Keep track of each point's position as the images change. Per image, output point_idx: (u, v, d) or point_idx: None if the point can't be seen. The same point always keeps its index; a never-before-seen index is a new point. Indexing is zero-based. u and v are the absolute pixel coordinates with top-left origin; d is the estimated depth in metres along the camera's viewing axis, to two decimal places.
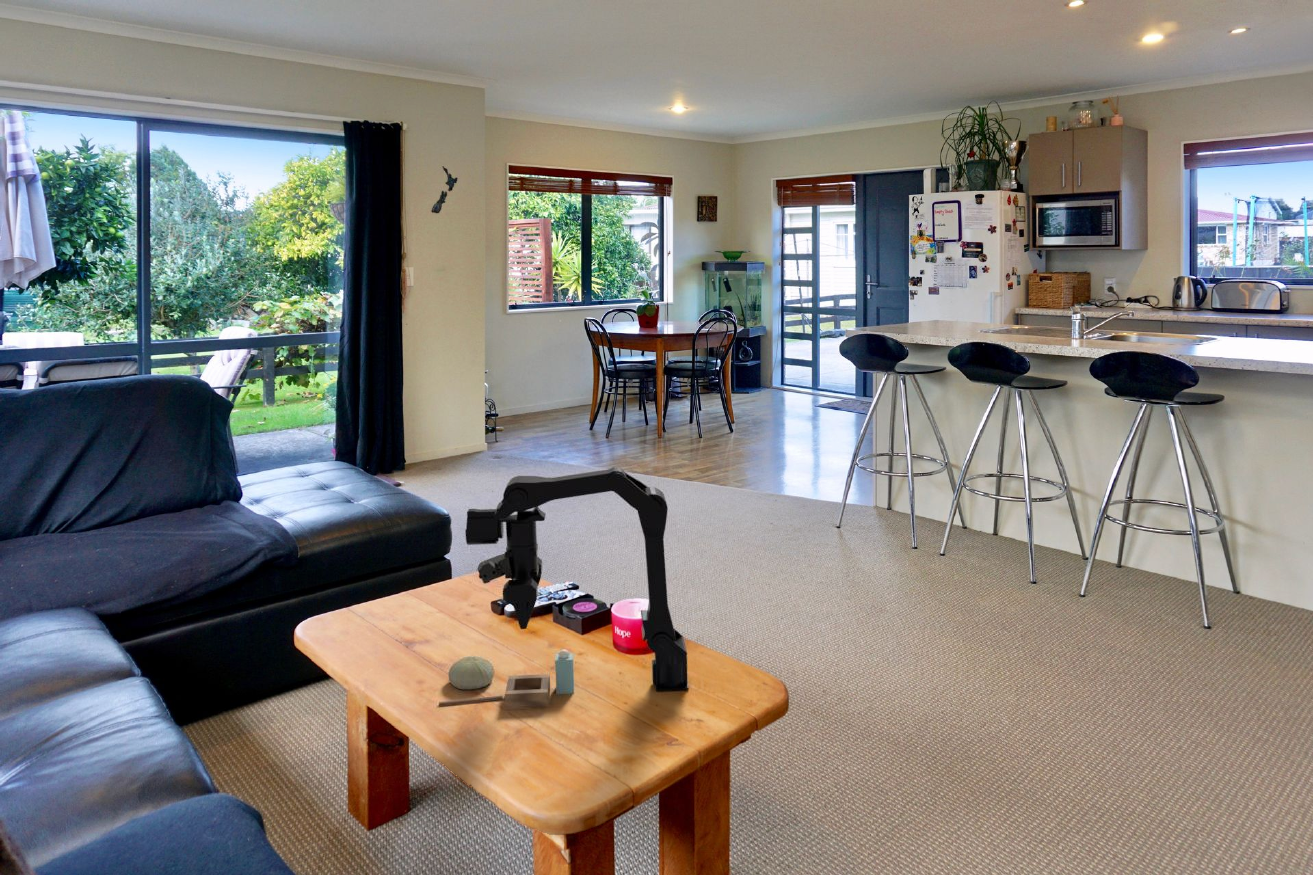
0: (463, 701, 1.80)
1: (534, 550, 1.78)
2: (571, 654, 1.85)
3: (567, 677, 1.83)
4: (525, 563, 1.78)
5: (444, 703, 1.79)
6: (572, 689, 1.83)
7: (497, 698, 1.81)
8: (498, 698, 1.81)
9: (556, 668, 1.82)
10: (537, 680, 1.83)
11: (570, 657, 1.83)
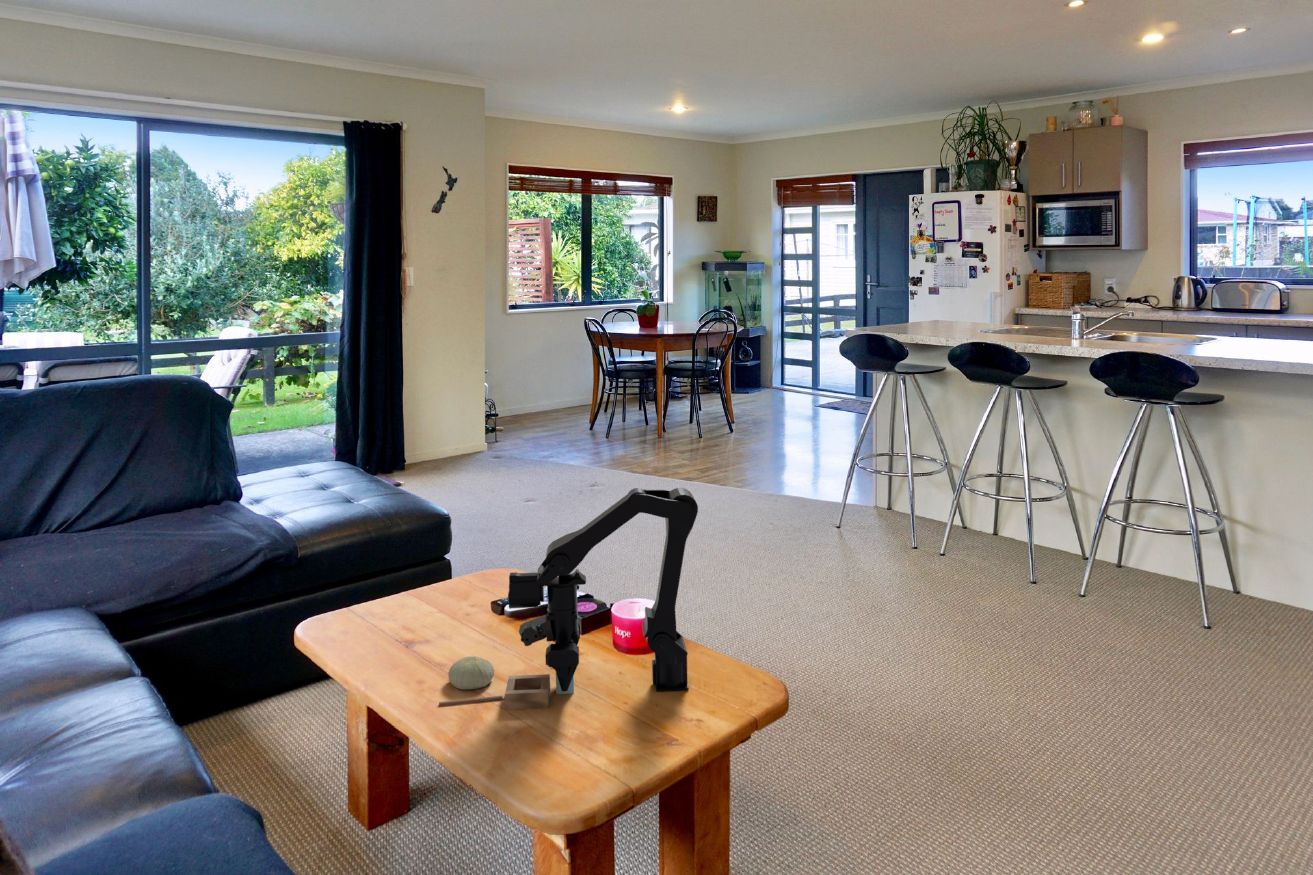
0: (463, 701, 1.80)
1: (575, 613, 1.80)
2: None
3: None
4: (566, 626, 1.80)
5: (444, 703, 1.79)
6: (572, 689, 1.83)
7: (497, 698, 1.81)
8: (498, 698, 1.81)
9: None
10: (537, 680, 1.83)
11: None
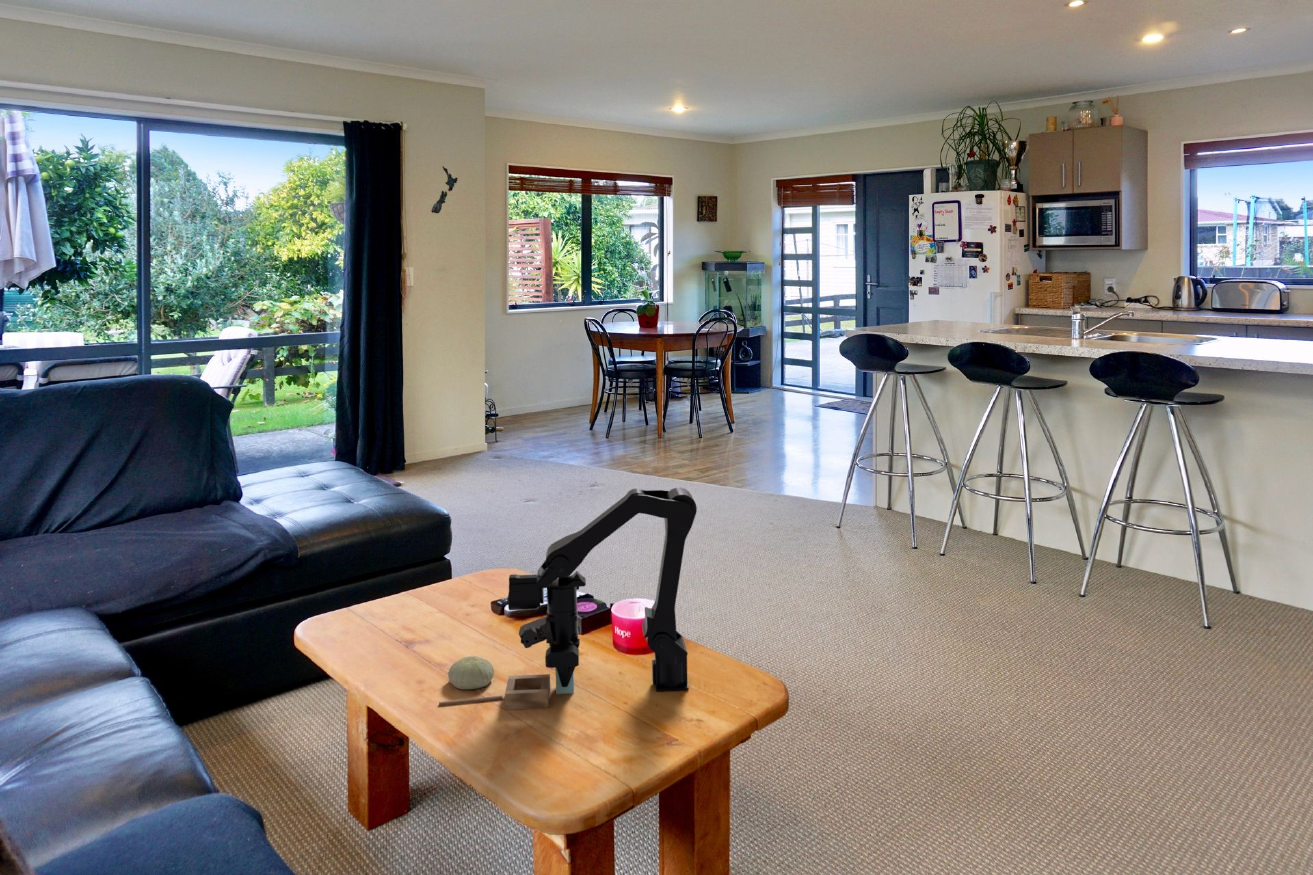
0: (463, 701, 1.80)
1: (575, 615, 1.80)
2: None
3: None
4: (566, 628, 1.80)
5: (444, 703, 1.79)
6: (572, 689, 1.83)
7: (497, 698, 1.81)
8: (498, 698, 1.81)
9: (556, 668, 1.82)
10: (537, 680, 1.83)
11: None
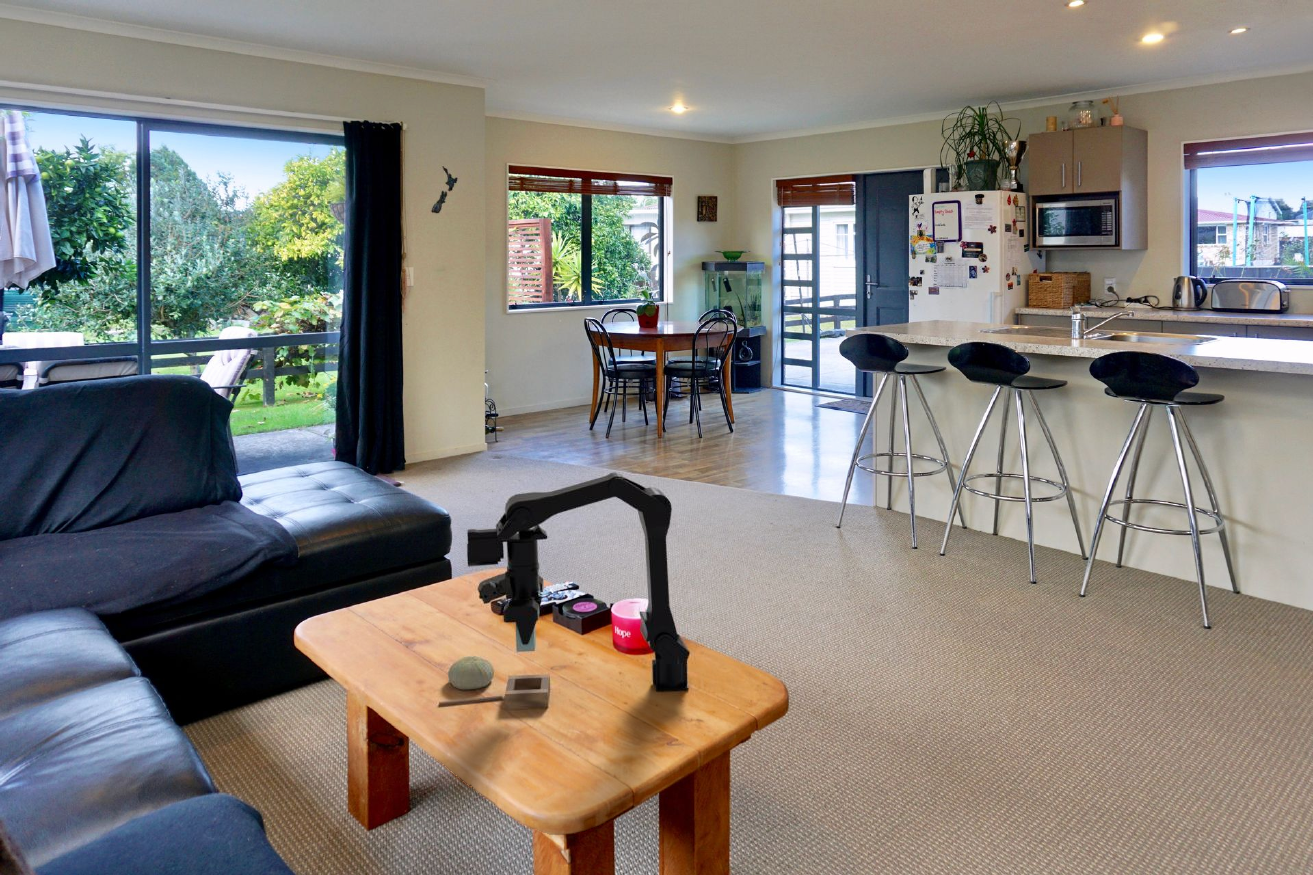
0: (463, 701, 1.80)
1: (535, 570, 1.75)
2: None
3: None
4: (526, 583, 1.74)
5: (444, 703, 1.79)
6: (532, 646, 1.78)
7: (497, 698, 1.81)
8: (498, 698, 1.81)
9: (516, 625, 1.77)
10: (537, 680, 1.83)
11: None
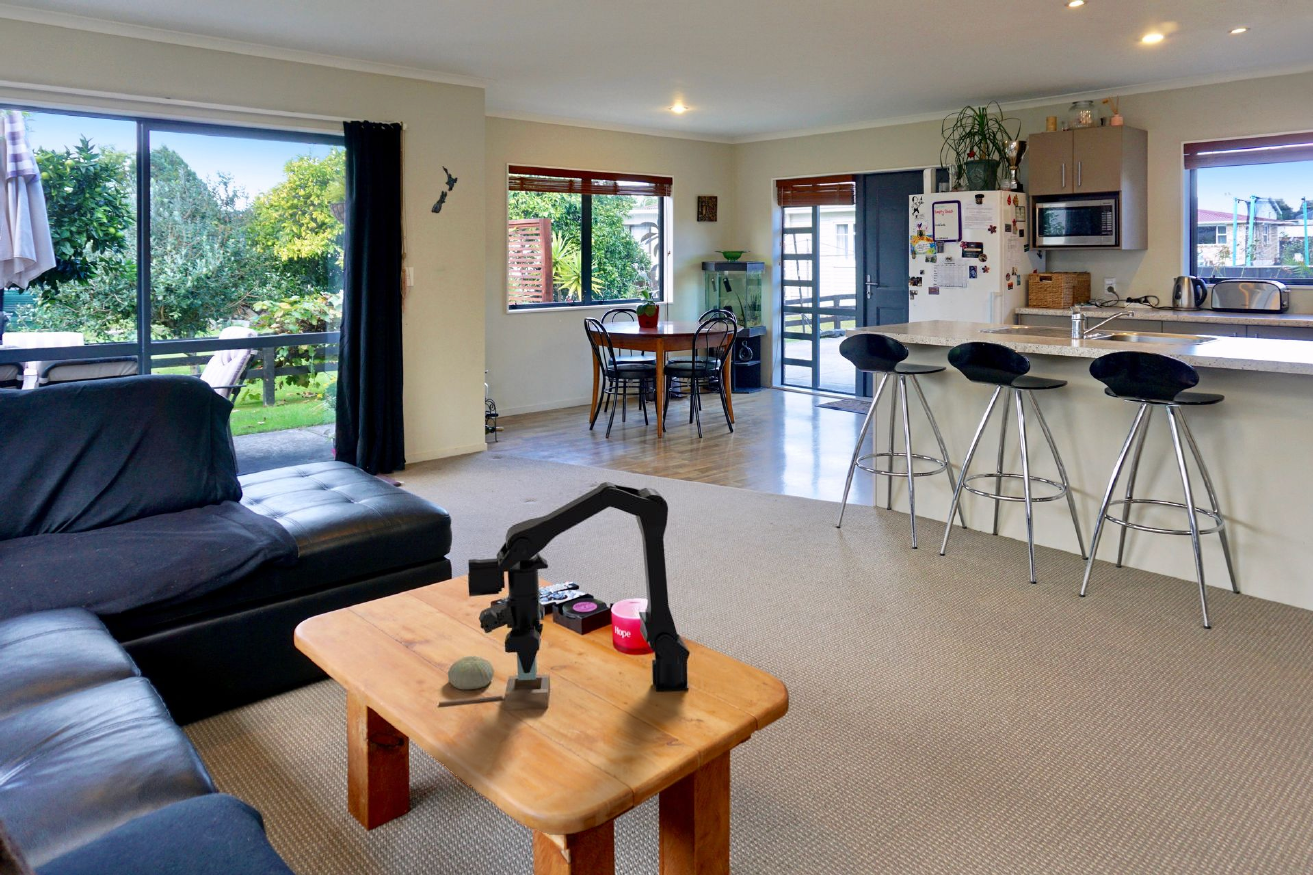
0: (463, 701, 1.80)
1: (536, 599, 1.76)
2: None
3: None
4: (527, 612, 1.75)
5: (444, 703, 1.79)
6: (534, 675, 1.79)
7: (497, 698, 1.81)
8: (498, 698, 1.81)
9: (517, 653, 1.78)
10: (537, 680, 1.83)
11: None
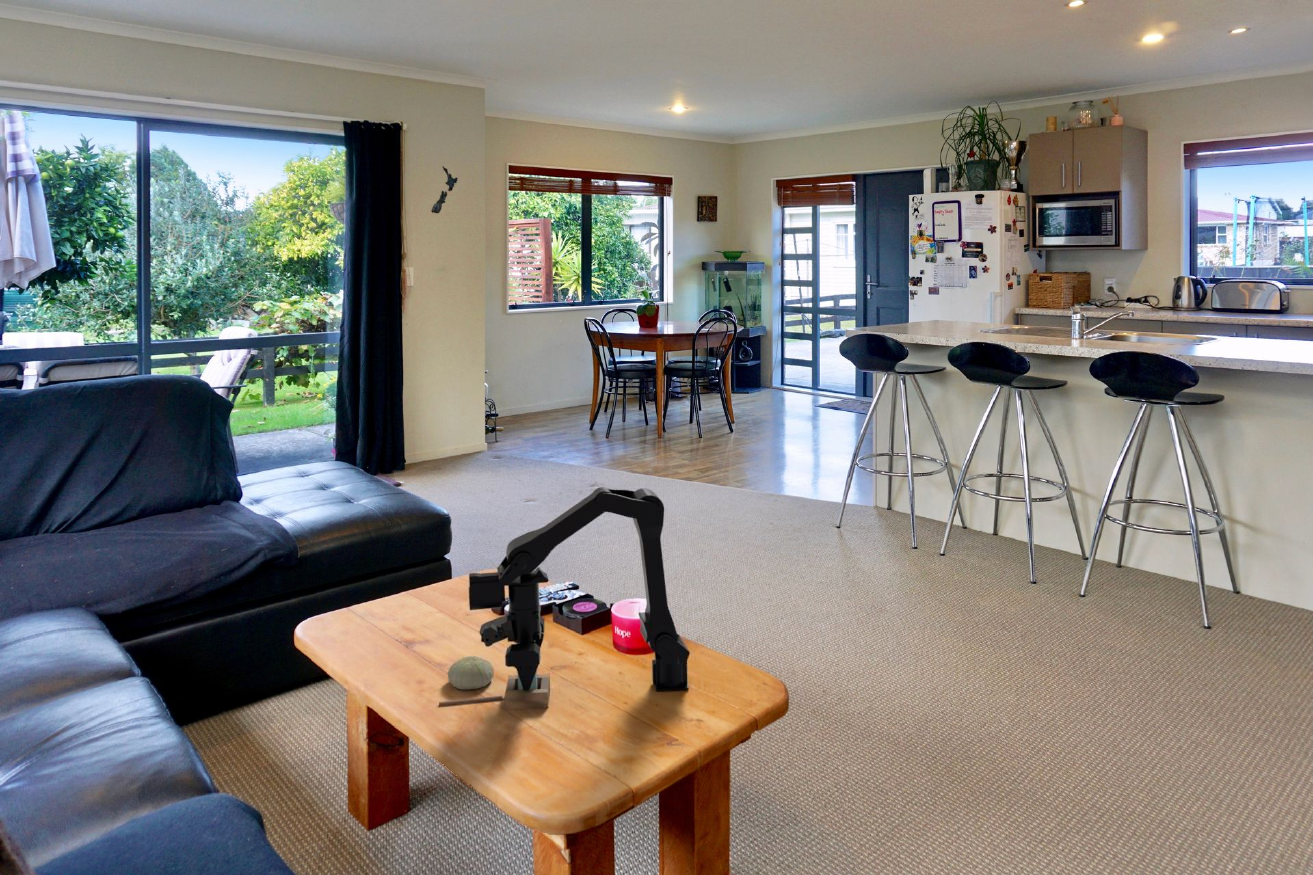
0: (463, 701, 1.80)
1: (537, 613, 1.76)
2: None
3: (530, 687, 1.79)
4: (527, 626, 1.76)
5: (444, 703, 1.79)
6: None
7: (497, 698, 1.81)
8: (498, 698, 1.81)
9: (518, 677, 1.79)
10: (537, 680, 1.83)
11: None
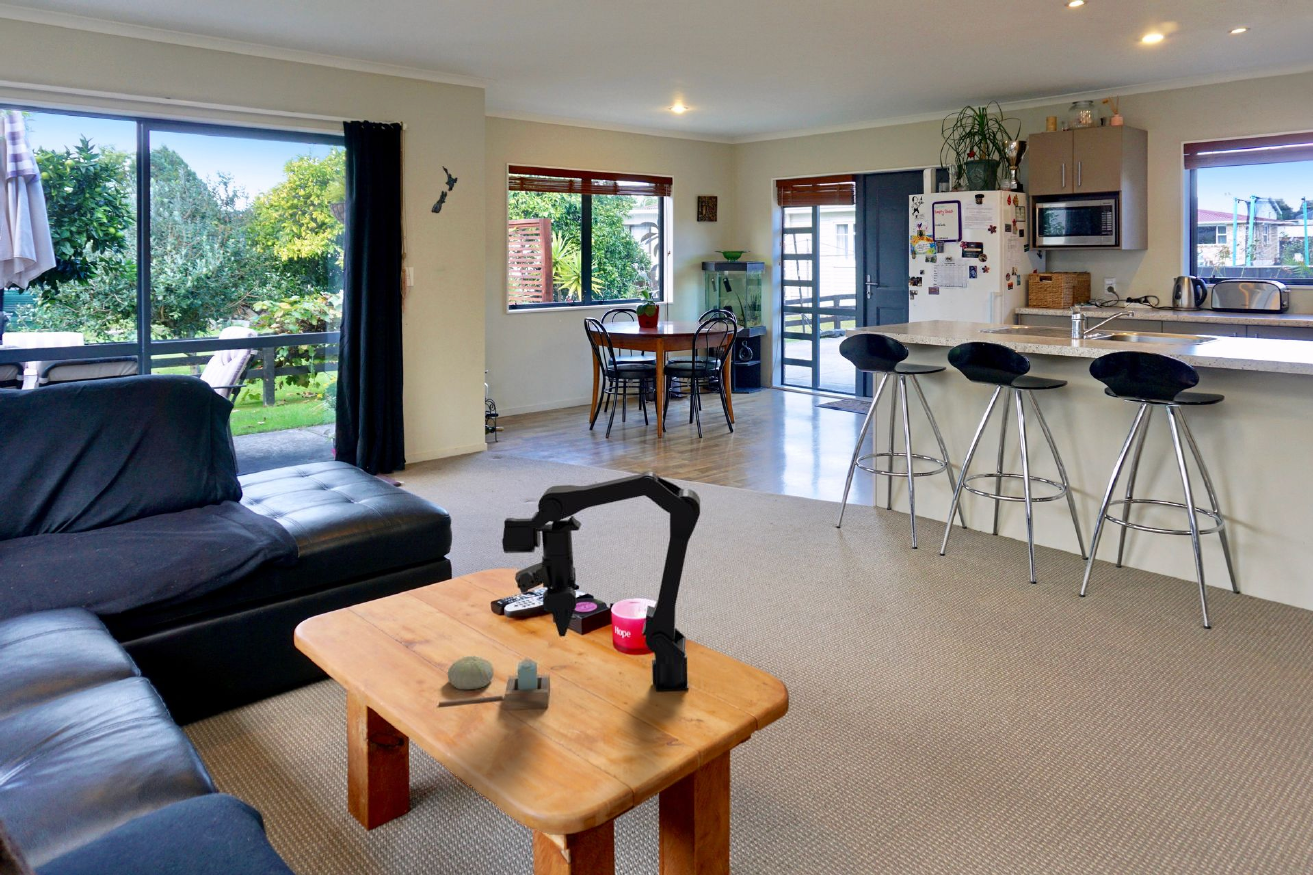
0: (463, 701, 1.80)
1: (571, 558, 1.81)
2: (534, 663, 1.81)
3: (530, 687, 1.79)
4: (562, 571, 1.81)
5: (444, 703, 1.79)
6: None
7: (497, 698, 1.81)
8: (498, 698, 1.81)
9: (518, 677, 1.79)
10: (537, 680, 1.83)
11: (533, 666, 1.80)
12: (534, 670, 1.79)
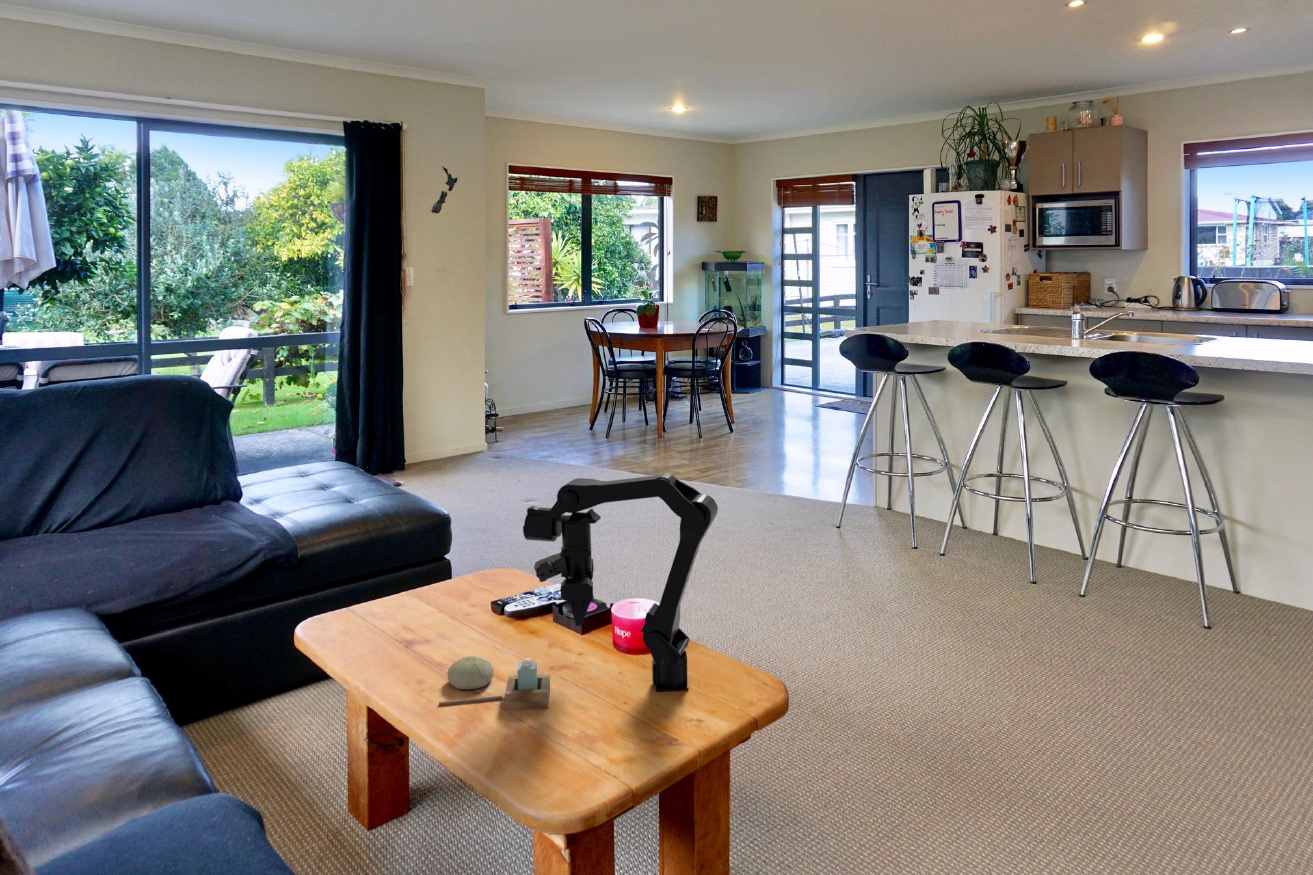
0: (463, 701, 1.80)
1: (589, 550, 1.85)
2: (534, 663, 1.81)
3: (530, 687, 1.79)
4: (580, 562, 1.85)
5: (444, 703, 1.79)
6: None
7: (497, 698, 1.81)
8: (498, 698, 1.81)
9: (518, 677, 1.79)
10: (537, 680, 1.83)
11: (533, 666, 1.80)
12: (534, 670, 1.79)
